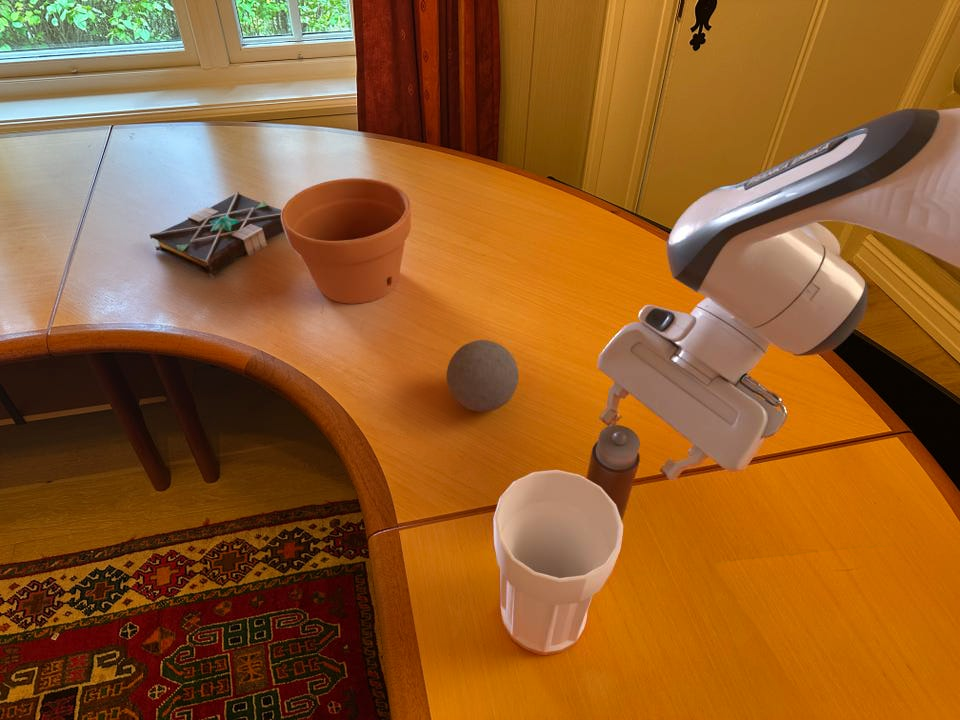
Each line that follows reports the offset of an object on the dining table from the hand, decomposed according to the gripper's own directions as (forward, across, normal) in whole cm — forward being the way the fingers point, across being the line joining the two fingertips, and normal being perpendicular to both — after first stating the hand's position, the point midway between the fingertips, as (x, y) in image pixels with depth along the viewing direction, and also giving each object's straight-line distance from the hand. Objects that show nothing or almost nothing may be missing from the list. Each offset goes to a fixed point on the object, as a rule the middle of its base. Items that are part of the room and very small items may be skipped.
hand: (634, 448), depth 69 cm
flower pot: (+10, +61, -3) cm, 62 cm away
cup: (+19, -6, +6) cm, 21 cm away
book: (+20, +88, +7) cm, 91 cm away
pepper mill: (+9, 0, -4) cm, 10 cm away
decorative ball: (+10, +23, -4) cm, 26 cm away
